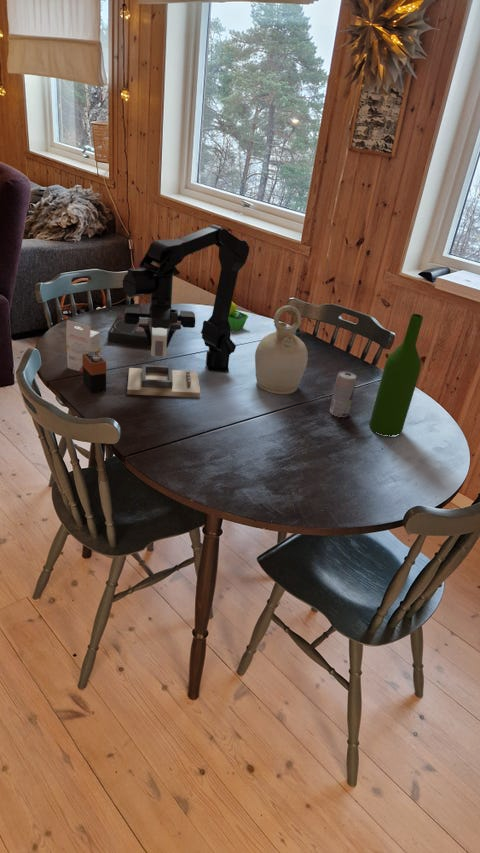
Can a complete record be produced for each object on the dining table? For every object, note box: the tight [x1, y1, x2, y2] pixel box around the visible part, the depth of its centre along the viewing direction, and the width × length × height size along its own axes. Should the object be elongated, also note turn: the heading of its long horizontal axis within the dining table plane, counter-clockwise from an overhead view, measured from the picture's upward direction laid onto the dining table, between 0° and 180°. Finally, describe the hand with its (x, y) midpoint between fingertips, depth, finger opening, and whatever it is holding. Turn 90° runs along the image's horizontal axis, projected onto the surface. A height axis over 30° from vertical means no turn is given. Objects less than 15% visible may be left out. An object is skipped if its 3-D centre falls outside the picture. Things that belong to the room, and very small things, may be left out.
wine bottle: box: [368, 313, 424, 436], centre depth 146 cm, size 9×9×32 cm
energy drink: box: [329, 370, 358, 418], centre depth 156 cm, size 5×5×12 cm
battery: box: [82, 351, 107, 395], centre depth 153 cm, size 4×7×10 cm, turn 34°
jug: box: [254, 304, 309, 396], centre depth 164 cm, size 15×16×25 cm
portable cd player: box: [107, 315, 152, 348], centre depth 191 cm, size 16×17×4 cm
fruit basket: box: [228, 301, 249, 331], centre depth 208 cm, size 11×9×11 cm
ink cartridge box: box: [65, 319, 101, 373], centre depth 161 cm, size 9×5×15 cm, turn 68°
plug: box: [150, 327, 168, 358], centre depth 155 cm, size 4×7×6 cm, turn 7°
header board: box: [126, 364, 201, 398], centre depth 161 cm, size 20×14×4 cm
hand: (158, 346), depth 156 cm, fingers closed on plug, 4 cm apart
